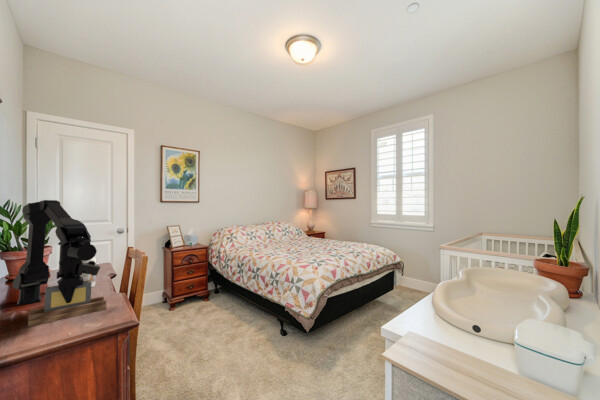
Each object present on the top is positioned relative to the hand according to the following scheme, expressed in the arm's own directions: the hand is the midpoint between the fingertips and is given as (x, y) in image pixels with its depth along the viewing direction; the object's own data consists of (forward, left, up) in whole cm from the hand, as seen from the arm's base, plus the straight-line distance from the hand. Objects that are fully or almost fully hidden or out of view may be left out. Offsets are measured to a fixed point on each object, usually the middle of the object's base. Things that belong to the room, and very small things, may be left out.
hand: (68, 301), depth 89 cm
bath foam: (-34, +8, -5) cm, 35 cm away
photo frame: (0, 0, -2) cm, 2 cm away
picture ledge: (0, +1, -4) cm, 5 cm away
